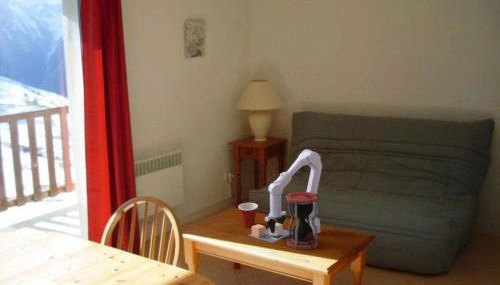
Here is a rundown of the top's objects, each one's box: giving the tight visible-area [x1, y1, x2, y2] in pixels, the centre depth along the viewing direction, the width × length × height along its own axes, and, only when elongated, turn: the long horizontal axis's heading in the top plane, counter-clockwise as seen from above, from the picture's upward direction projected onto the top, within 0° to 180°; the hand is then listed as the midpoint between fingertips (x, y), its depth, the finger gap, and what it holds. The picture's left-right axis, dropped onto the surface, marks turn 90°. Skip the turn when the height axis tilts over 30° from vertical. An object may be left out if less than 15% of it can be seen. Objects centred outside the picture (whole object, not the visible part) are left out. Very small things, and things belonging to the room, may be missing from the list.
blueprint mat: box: [247, 227, 292, 243], centre depth 295 cm, size 17×19×1 cm
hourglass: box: [285, 191, 320, 250], centre depth 279 cm, size 16×16×25 cm
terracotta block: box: [251, 224, 266, 239], centre depth 293 cm, size 5×5×5 cm
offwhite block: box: [268, 222, 284, 236], centre depth 291 cm, size 5×5×5 cm
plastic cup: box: [238, 202, 259, 228], centre depth 309 cm, size 11×11×12 cm
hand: (276, 231), depth 291 cm, fingers closed on offwhite block, 5 cm apart
